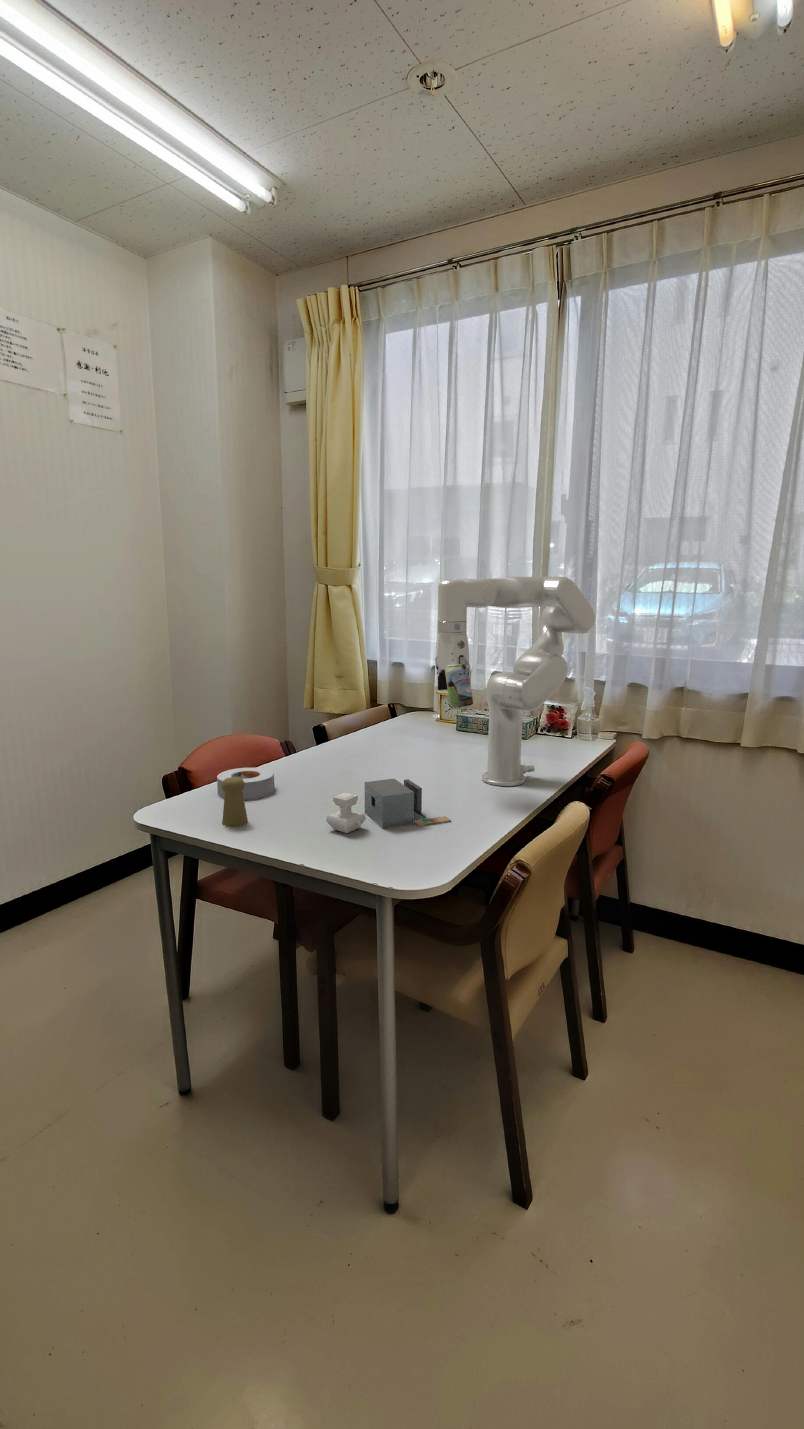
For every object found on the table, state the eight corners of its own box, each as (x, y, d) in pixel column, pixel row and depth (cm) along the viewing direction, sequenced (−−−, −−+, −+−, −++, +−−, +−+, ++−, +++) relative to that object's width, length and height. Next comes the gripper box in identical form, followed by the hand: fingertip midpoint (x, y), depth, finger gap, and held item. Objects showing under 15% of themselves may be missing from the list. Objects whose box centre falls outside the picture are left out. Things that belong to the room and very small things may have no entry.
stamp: (370, 829, 153) (369, 795, 152) (351, 838, 148) (350, 803, 147) (341, 821, 159) (340, 788, 157) (322, 829, 153) (321, 795, 152)
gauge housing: (394, 808, 168) (394, 778, 166) (413, 824, 157) (413, 792, 155) (364, 812, 165) (364, 782, 163) (382, 829, 154) (382, 796, 152)
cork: (234, 828, 154) (232, 783, 152) (216, 823, 157) (214, 779, 155) (253, 820, 159) (251, 777, 157) (235, 816, 162) (233, 773, 160)
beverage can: (469, 712, 166) (469, 665, 164) (441, 710, 169) (441, 664, 167) (476, 707, 172) (476, 661, 169) (449, 705, 175) (449, 660, 172)
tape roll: (233, 782, 190) (232, 765, 189) (283, 785, 187) (282, 768, 186) (207, 798, 175) (206, 780, 174) (261, 802, 172) (260, 784, 171)
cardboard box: (445, 817, 161) (445, 815, 161) (450, 821, 159) (450, 819, 159) (413, 822, 158) (413, 820, 158) (419, 826, 155) (419, 824, 155)
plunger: (408, 803, 167) (408, 779, 166) (427, 817, 157) (427, 792, 156) (375, 808, 163) (375, 783, 162) (392, 823, 153) (392, 796, 152)
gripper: (481, 629, 165) (480, 696, 169) (449, 625, 181) (448, 686, 184) (455, 631, 162) (454, 699, 166) (424, 626, 178) (424, 688, 181)
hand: (451, 692), depth 175 cm, fingers open, 9 cm apart
